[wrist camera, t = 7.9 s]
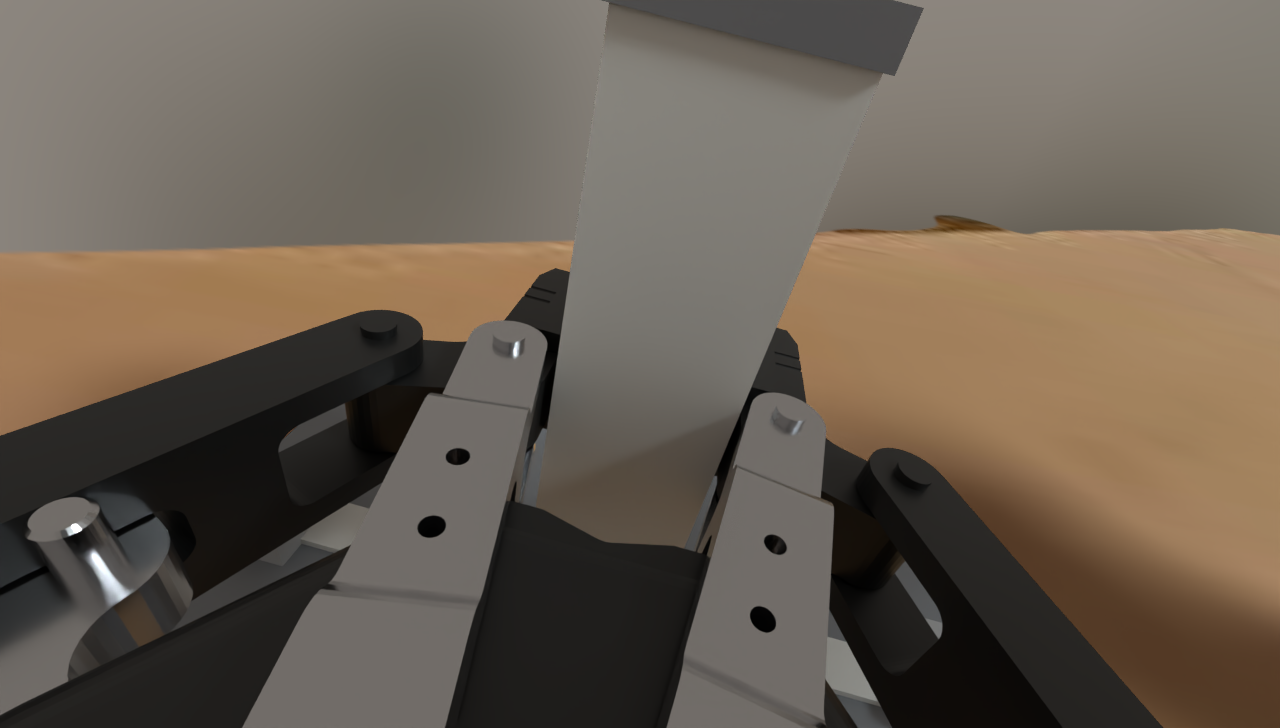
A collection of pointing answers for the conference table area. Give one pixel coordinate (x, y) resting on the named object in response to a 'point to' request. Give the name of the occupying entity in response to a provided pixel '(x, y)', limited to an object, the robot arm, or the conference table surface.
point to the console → (349, 518)
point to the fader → (696, 237)
